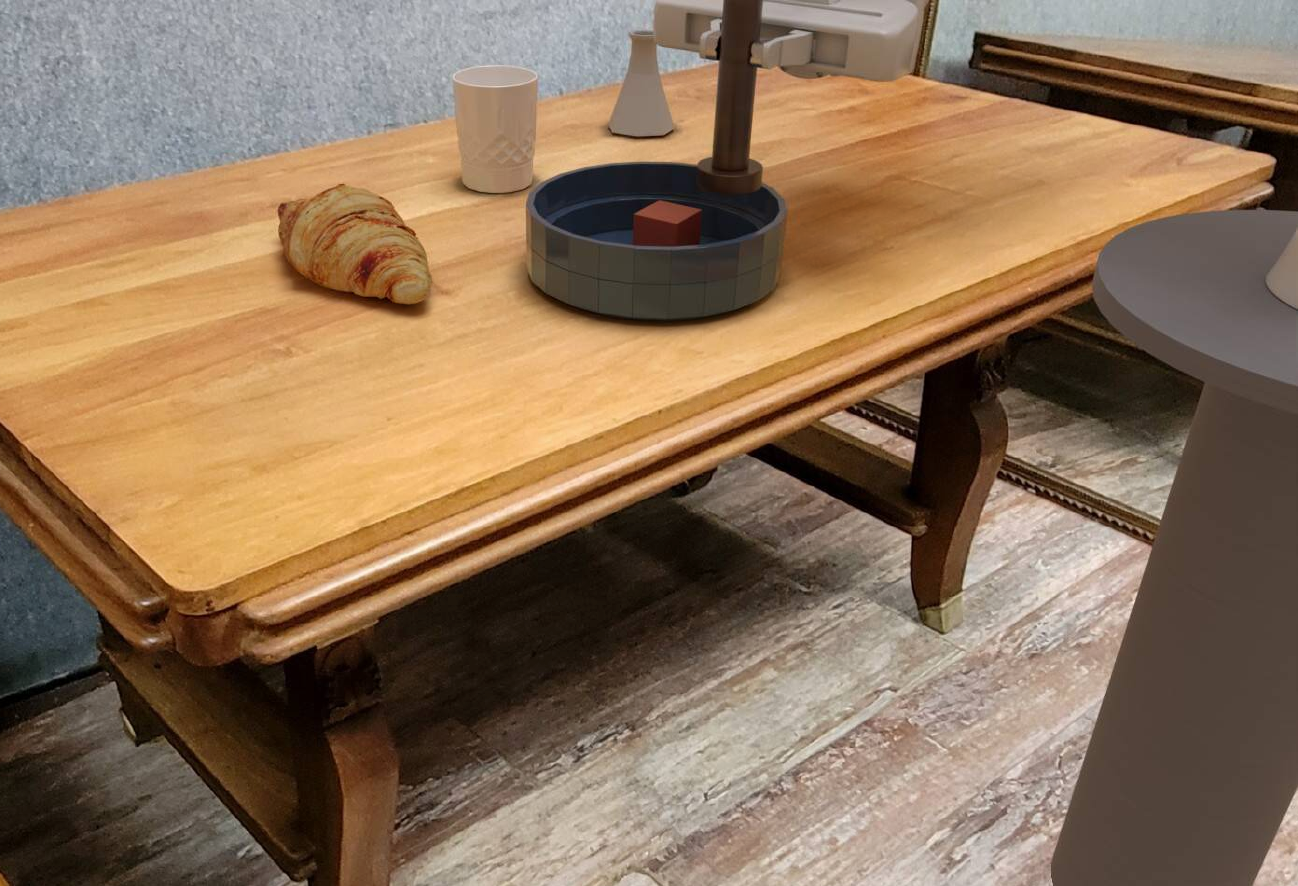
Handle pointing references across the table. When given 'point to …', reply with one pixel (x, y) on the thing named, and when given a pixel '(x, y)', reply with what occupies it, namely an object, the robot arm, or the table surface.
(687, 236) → the block
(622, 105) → the flask
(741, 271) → the bowl
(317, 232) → the croissant
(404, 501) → the table surface
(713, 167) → the rod
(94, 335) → the table surface
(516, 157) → the white cup
